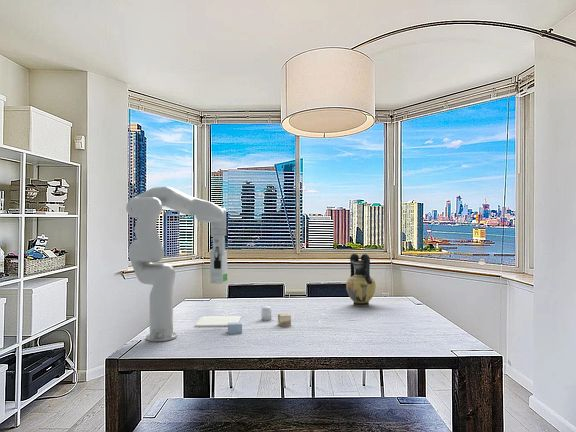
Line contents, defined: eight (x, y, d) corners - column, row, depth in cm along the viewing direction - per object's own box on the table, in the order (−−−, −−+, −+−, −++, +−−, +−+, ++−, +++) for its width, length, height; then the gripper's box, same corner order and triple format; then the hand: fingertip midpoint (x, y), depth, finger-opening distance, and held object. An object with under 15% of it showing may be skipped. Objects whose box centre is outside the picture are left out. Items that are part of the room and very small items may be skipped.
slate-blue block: (242, 333, 195) (241, 324, 195) (228, 333, 194) (228, 324, 194) (241, 331, 199) (241, 322, 199) (227, 331, 198) (227, 322, 198)
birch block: (290, 325, 208) (290, 315, 208) (280, 326, 207) (280, 315, 207) (288, 323, 213) (287, 313, 213) (277, 324, 211) (277, 313, 211)
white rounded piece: (271, 320, 220) (271, 308, 220) (261, 320, 220) (261, 308, 220) (271, 318, 225) (271, 306, 225) (261, 318, 225) (261, 306, 225)
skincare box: (222, 283, 213) (222, 251, 213) (209, 283, 214) (209, 251, 214) (227, 281, 221) (227, 250, 221) (215, 281, 222) (215, 250, 223)
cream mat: (237, 326, 207) (237, 324, 207) (194, 326, 207) (194, 325, 207) (241, 317, 227) (241, 315, 227) (202, 317, 227) (202, 316, 227)
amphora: (340, 304, 260) (339, 253, 261) (358, 301, 271) (357, 252, 272) (364, 308, 247) (363, 255, 248) (382, 305, 258) (381, 253, 259)
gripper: (223, 233, 210) (224, 269, 209) (228, 232, 227) (228, 266, 227) (207, 233, 209) (208, 269, 209) (213, 232, 227) (213, 266, 226)
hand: (218, 267), depth 218 cm, fingers closed on skincare box, 9 cm apart
